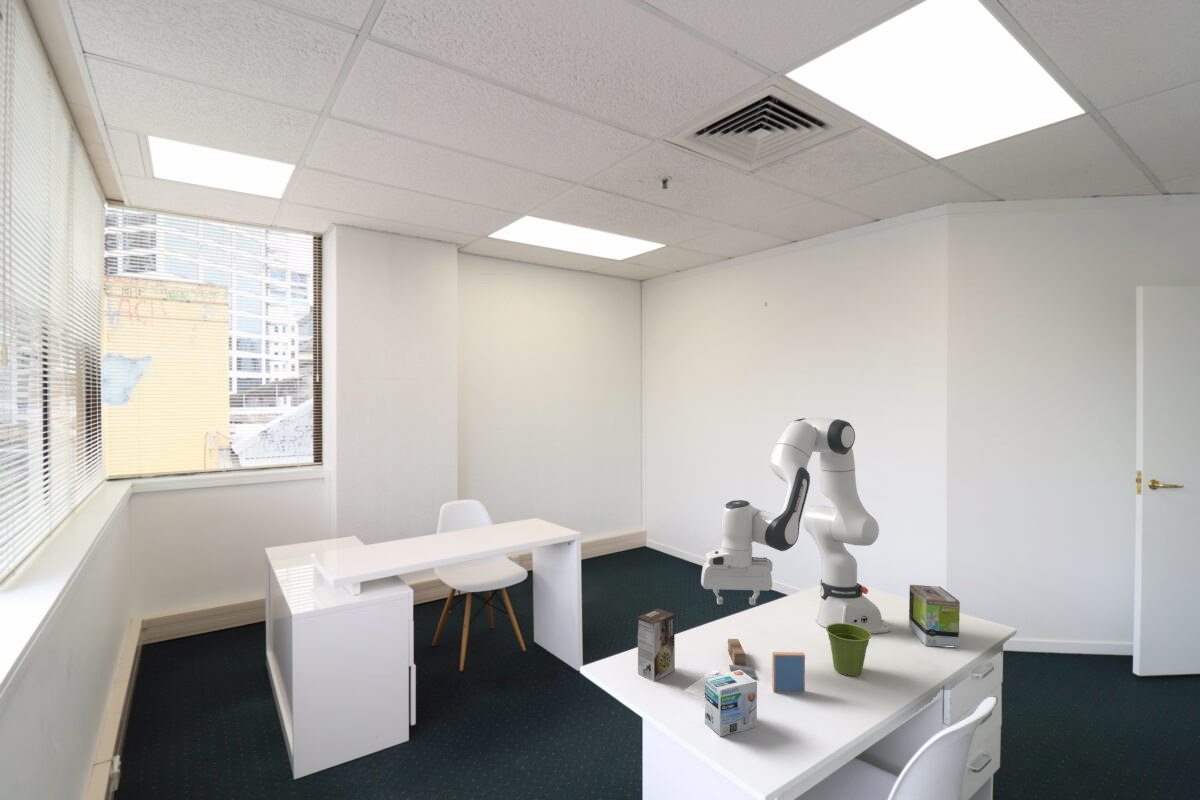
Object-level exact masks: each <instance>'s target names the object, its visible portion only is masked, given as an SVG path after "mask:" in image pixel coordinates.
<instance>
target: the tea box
mask: <svg viewBox="0 0 1200 800" xmlns="http://www.w3.org/2000/svg"><path fill="white" fill-rule="evenodd" d="M908 594H909V602H908V603H909V604H908V605H909V607H908V610H909V611H908V613H909V615H908V627H909V629H910V630H911V631H912V632H913V633H914V634H915V635H916V637H918V638H919V640H920V641H921V642H922V644H924V645H925V646H927V647H935V646H954V647H958V648H959V646H960V612H961V611H960V610H961V609H960V607H961V602H960V600H959V599H957V598H956V597H955V596H954V595H952V594H951V593H950V592H948V591H947V590H946V589H944V588H943V587H942V586H940V585H939V586H937V585H925V584H922V585H921V584H920V585H919V584H909V593H908Z"/></svg>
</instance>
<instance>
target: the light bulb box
mask: <svg viewBox="0 0 1200 800" xmlns="http://www.w3.org/2000/svg"><path fill="white" fill-rule="evenodd" d="M757 710H758V681H757V680H754V679H752V678H751V677H750V676H748V675H747V674H745V673H744V672H743V671H741V670H737V671H733V672H731V671H728V672H725V673H724V672H723V673H719V674H717V675H715V676H711V677H706V678H705V693H704V723H706V724H707V726H708V727H709V728H710V729H711V730H713V732H715V733H716V734H717V735H718V736H719V737H724V736H728V735H730V734H736V733H738V732H739V733H740V732H743V731H746V730H750V729H751V730H752V729H754V728H757V727H758V726H757V723H758V722H757V721H758V720H757V719H758V715H757V713H758V711H757Z"/></svg>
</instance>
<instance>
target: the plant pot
mask: <svg viewBox="0 0 1200 800" xmlns="http://www.w3.org/2000/svg"><path fill="white" fill-rule="evenodd" d="M825 631H826V633H828V634H827V636H828V641H829V642H830V643H829V644H830V650H831V657H832V663H833V667H834V671H835V672H837V673H838V674H841V675H844V676H851V677H858V676H860V675H862V673H863V669H864V662H865V658H866V652H867V647H868V646H869V642H870V639H871V638H872V636H873V634H872V633H870V632H869V631H868V630H866V629H864V628H862V627H860V626H857V625H853V624H847V623H833V624H830V625H828V626H827V627H825Z"/></svg>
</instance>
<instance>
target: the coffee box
mask: <svg viewBox="0 0 1200 800" xmlns="http://www.w3.org/2000/svg"><path fill="white" fill-rule="evenodd" d="M675 637H676V636H675V614H674V613H671V612H669V611H666V610H664V609H661V608H655V609H653V610H650V611H648V612H646V613H643V614H641V615H639V616H638V617H637V675H639V676H641V675H642V677H644V678H646V679H648V680H650V681H652V680H653V681H652V682H657V681H658V680H659V679H662V678H663V676H664V677H665V676H667V675H669V674H671V673H672V672H675V671H676V670H675V668H676V667H675V666H676V665H675V664H676V663H675V661H676V660H675V657H676V655H675V653H676V652H675V651H676V650H675V648H676V647H675V646H676V645H675V644H676V643H675V641H676V640H675Z"/></svg>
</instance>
